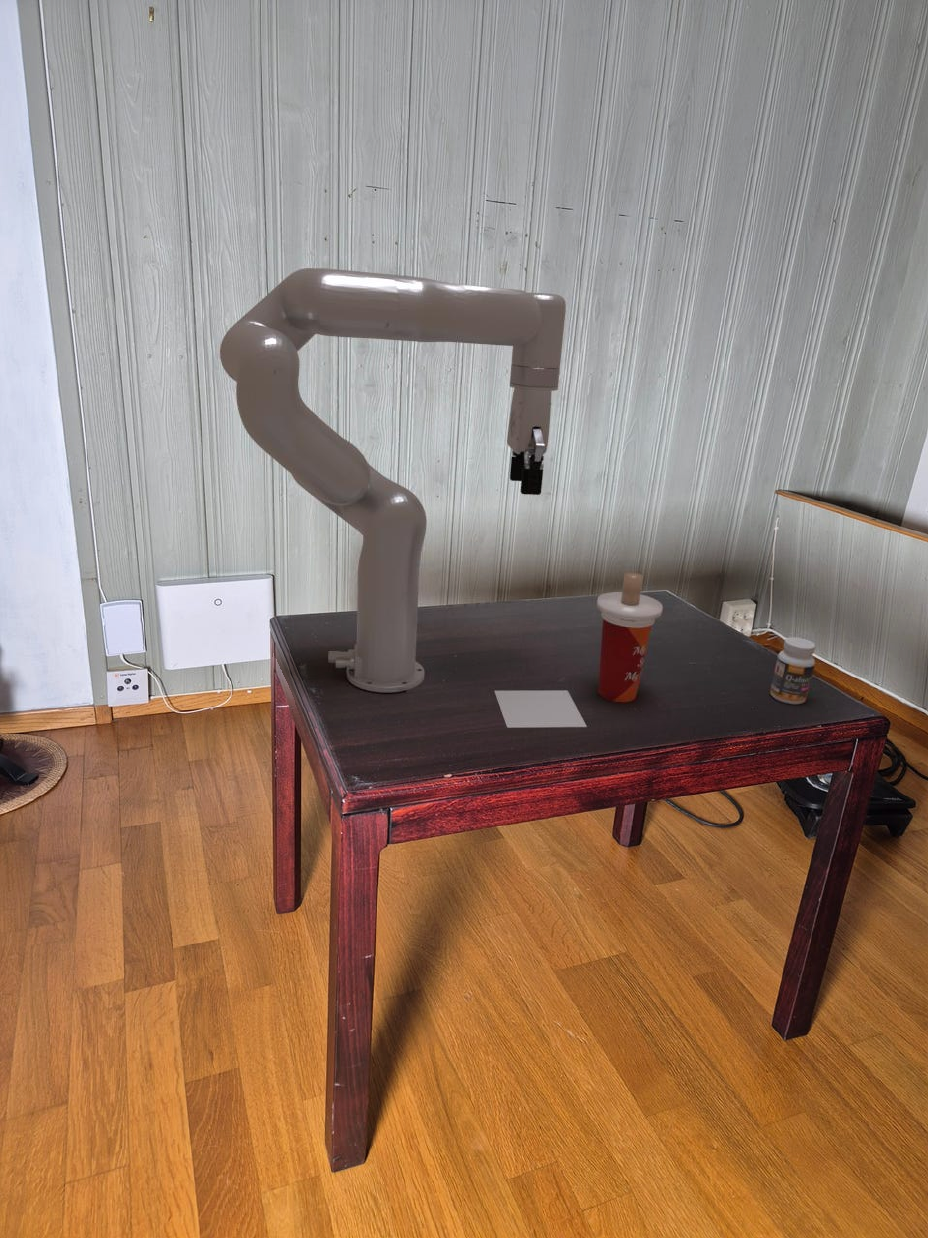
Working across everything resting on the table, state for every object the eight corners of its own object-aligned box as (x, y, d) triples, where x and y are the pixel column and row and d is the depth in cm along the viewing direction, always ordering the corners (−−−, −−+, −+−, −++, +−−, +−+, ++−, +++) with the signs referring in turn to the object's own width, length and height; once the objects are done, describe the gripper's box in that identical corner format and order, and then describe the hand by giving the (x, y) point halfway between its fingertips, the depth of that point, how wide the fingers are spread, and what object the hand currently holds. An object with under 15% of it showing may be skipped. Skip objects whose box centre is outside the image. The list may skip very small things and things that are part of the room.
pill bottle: (783, 706, 135) (795, 650, 132) (762, 691, 141) (774, 636, 137) (813, 704, 137) (826, 648, 133) (791, 689, 142) (803, 634, 138)
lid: (607, 620, 125) (612, 585, 123) (589, 597, 134) (593, 564, 132) (671, 620, 126) (677, 586, 124) (648, 598, 136) (653, 565, 134)
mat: (507, 729, 123) (507, 727, 123) (494, 692, 134) (494, 690, 134) (586, 729, 124) (586, 726, 124) (567, 692, 135) (567, 690, 135)
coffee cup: (642, 710, 131) (656, 621, 126) (589, 703, 132) (601, 614, 127) (642, 688, 139) (655, 603, 133) (592, 681, 140) (603, 596, 135)
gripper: (501, 371, 138) (493, 475, 144) (521, 383, 122) (511, 499, 128) (546, 374, 139) (536, 476, 145) (571, 385, 123) (559, 500, 129)
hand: (524, 487), depth 136 cm, fingers open, 9 cm apart
